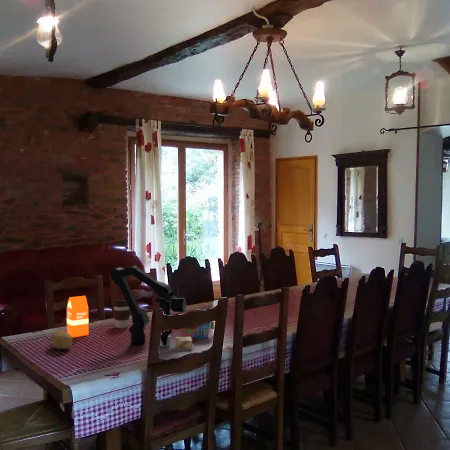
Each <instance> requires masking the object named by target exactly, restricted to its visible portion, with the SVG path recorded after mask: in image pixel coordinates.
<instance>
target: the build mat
mask: <svg viewBox="0 0 450 450" xmlns="http://www.w3.org/2000/svg"><path fill="white" fill-rule="evenodd" d="M172 347H173V351H174V352H175V351H177V352H178V351H196V347H195V344H194V343H192V349H178V350H177V347H176V343H175V344H172Z"/></svg>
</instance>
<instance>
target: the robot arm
mask: <svg viewBox="0 0 450 450" xmlns="http://www.w3.org/2000/svg"><path fill="white" fill-rule="evenodd" d="M129 276H133V277H134V278H136V279H138V280H139V281H140V282H141V283H143V284H145V285H146V286H148V287H149V288H150V289H151V290H152V291H153V292H154V294H155V295H156V296H157V298H156V299H155V300H154V301H153V302H154V303H158V309H159V308H163V311H164V314H166V315H172V313H171V311H172V312H173V313H185V312H186V311H187V301H186V298H185V297H177V296H176V295H175V294H174V292H173V289H172V286H171V285H169V284H167V283H165V282H162V281H159V280H157V279H156V278H154V277H152V276H151V275H149V274H148V273H146V272H145V271H143V270H142V269H140V268H139V267H138V266H137V265H134V266H129V267H126V268H123V267H117V268H113V269H112V270H111V271H110V273H109V278H110V280H112V282H113V283H114V284H115V285H116V286H117V287H118V289H119V290H120V292H121V294H122V297H123V299H125V301H126V303H127V305H128V307H129V309H130V315H131V321H132V325H131V326H130V327H129V328H128V331H129V333H130V346H144V345H145V343H146V332H145V329H146V327H147V326H148V325H149V324H150V323H149V322H150V319H149V318H150V316H149V315H148V313H147V310H144V311H143V310H142V309H141V307H140V306H139V303H138V301H137V300H136V297H135V296H134V293H133V291H132V289H131V287H130V285H129V283H128V282H129V281H128V280H129V279H128V277H129ZM172 332H173V329H172V330H169V331H165V332H162V335H161V340H162V343H163V345H164V346H163V347H167V346H166V344H167V339H168V336H169V335H170V336H171V335H172Z"/></svg>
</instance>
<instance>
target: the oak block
mask: <svg viewBox="0 0 450 450" xmlns="http://www.w3.org/2000/svg"><path fill="white" fill-rule="evenodd" d="M175 340H176V341H175V344H176V347H177V350H178V349H192V344H193V340H192V336H176V337H175Z"/></svg>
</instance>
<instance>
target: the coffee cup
mask: <svg viewBox="0 0 450 450" xmlns="http://www.w3.org/2000/svg"><path fill="white" fill-rule="evenodd" d="M112 306H113V318H114V327H115V328H118V329H124V328H128V327H129V326H130V325H129V323H130V316H131V311H130V309H129V307H128V305H127V303H126V301H125V299H124V298H118V299H115V300H114V301H113V302H112Z"/></svg>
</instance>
